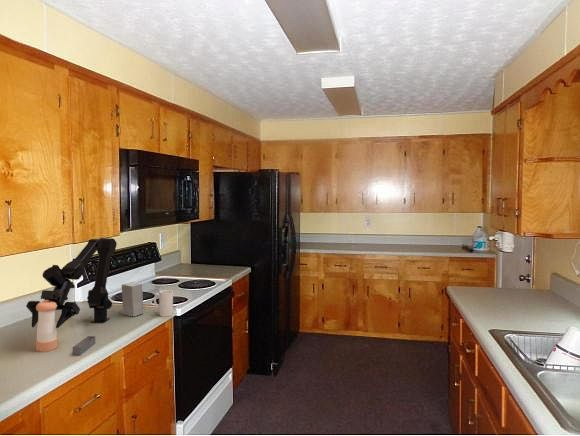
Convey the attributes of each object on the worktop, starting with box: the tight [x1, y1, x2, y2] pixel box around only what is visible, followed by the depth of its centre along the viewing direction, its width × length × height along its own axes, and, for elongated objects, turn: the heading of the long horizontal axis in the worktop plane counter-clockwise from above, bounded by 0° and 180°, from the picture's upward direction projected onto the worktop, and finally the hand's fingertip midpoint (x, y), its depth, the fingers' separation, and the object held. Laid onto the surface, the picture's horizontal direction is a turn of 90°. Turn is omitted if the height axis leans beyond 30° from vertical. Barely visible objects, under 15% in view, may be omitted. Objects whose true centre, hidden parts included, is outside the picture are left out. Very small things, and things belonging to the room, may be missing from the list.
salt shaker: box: [35, 299, 59, 353], centre depth 157 cm, size 7×7×19 cm
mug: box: [153, 289, 174, 318], centre depth 205 cm, size 10×7×12 cm, turn 78°
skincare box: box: [121, 281, 144, 318], centre depth 204 cm, size 8×7×16 cm
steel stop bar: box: [72, 335, 96, 356], centre depth 158 cm, size 12×3×3 cm, turn 1°
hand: (44, 327), depth 156 cm, fingers open, 9 cm apart
